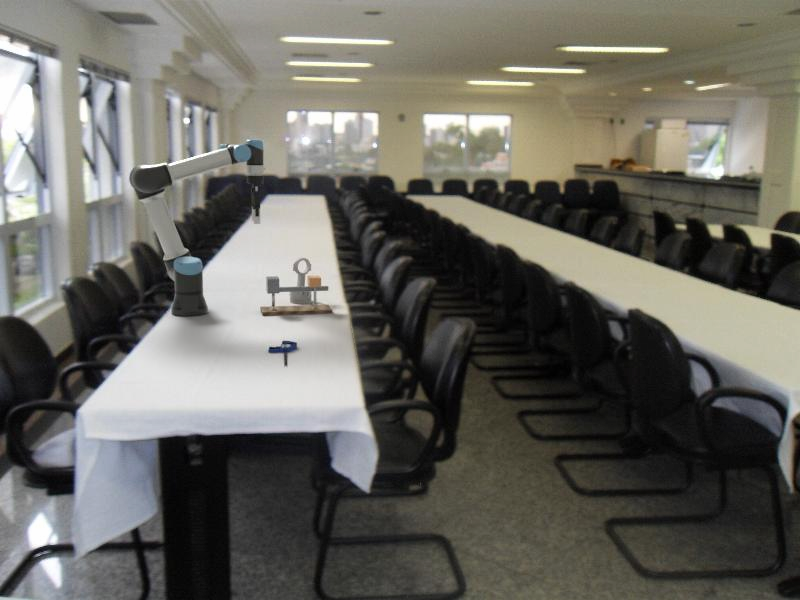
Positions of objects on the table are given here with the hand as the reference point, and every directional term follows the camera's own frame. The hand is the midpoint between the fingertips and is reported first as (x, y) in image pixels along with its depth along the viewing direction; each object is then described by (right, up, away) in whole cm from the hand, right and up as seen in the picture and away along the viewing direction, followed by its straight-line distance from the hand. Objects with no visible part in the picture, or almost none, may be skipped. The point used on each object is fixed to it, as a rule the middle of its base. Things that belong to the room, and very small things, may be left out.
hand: (256, 222), depth 361 cm
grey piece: (+21, -39, -14) cm, 46 cm away
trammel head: (+28, -38, -12) cm, 48 cm away
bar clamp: (+25, -55, -89) cm, 108 cm away
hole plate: (+20, -40, -13) cm, 47 cm away
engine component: (+19, -36, +10) cm, 42 cm away
